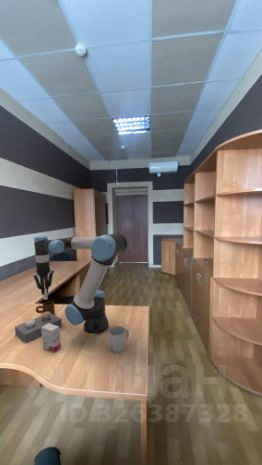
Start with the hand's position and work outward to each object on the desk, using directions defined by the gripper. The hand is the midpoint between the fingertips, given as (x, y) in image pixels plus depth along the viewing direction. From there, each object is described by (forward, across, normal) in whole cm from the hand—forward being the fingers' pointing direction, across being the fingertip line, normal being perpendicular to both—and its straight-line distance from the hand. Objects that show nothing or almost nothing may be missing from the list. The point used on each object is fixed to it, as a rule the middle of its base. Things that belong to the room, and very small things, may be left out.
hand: (45, 298), depth 132 cm
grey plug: (+18, +10, 0) cm, 20 cm away
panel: (+18, +5, 0) cm, 19 cm away
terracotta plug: (+17, 0, 0) cm, 17 cm away
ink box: (+19, +9, +22) cm, 30 cm away
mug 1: (+18, -6, -14) cm, 24 cm away
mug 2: (+19, -14, +50) cm, 55 cm away
